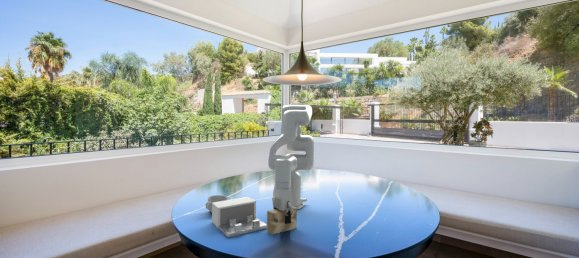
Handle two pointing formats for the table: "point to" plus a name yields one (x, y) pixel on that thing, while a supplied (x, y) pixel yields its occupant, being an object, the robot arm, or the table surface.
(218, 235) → the table surface
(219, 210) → the cabinet
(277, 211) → the door
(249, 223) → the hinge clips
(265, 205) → the table surface
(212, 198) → the teacup
